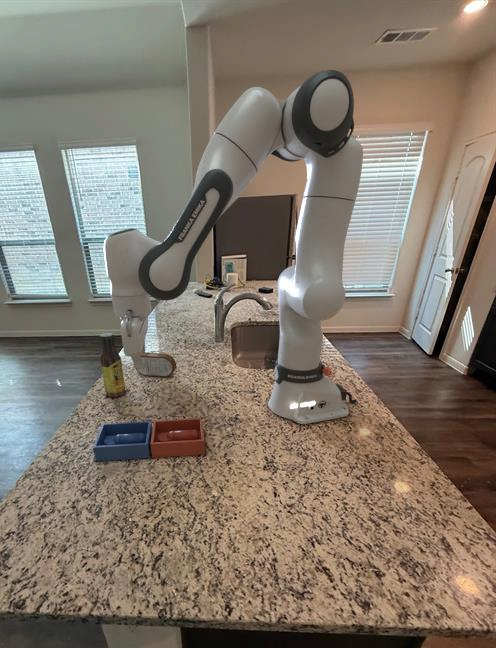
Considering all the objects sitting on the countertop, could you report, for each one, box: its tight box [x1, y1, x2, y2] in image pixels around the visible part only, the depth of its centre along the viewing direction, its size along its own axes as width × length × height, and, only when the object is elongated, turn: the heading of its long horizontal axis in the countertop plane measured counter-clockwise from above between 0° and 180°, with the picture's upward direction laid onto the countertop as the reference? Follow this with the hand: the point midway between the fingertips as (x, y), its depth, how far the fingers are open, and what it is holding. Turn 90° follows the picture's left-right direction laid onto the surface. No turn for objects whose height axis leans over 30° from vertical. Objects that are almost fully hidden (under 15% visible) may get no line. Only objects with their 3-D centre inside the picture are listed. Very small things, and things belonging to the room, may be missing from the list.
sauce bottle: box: [99, 332, 126, 398], centre depth 97 cm, size 6×6×20 cm
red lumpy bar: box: [158, 430, 199, 442], centre depth 77 cm, size 10×4×3 cm, turn 94°
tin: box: [135, 351, 177, 378], centre depth 111 cm, size 15×3×8 cm, turn 80°
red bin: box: [150, 417, 206, 459], centre depth 77 cm, size 12×10×4 cm
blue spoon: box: [104, 433, 146, 445], centre depth 76 cm, size 10×4×3 cm, turn 94°
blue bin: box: [92, 420, 153, 462], centre depth 76 cm, size 12×10×4 cm
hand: (140, 359), depth 80 cm, fingers open, 8 cm apart
